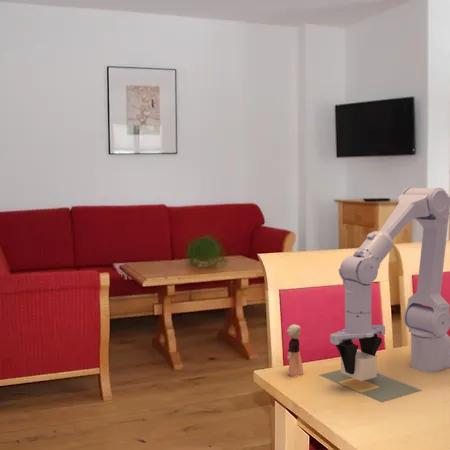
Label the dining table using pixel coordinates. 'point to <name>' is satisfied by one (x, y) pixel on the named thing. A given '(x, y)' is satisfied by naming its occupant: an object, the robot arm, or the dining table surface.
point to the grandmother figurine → (294, 351)
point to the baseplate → (373, 386)
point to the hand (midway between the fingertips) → (358, 370)
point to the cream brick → (363, 366)
